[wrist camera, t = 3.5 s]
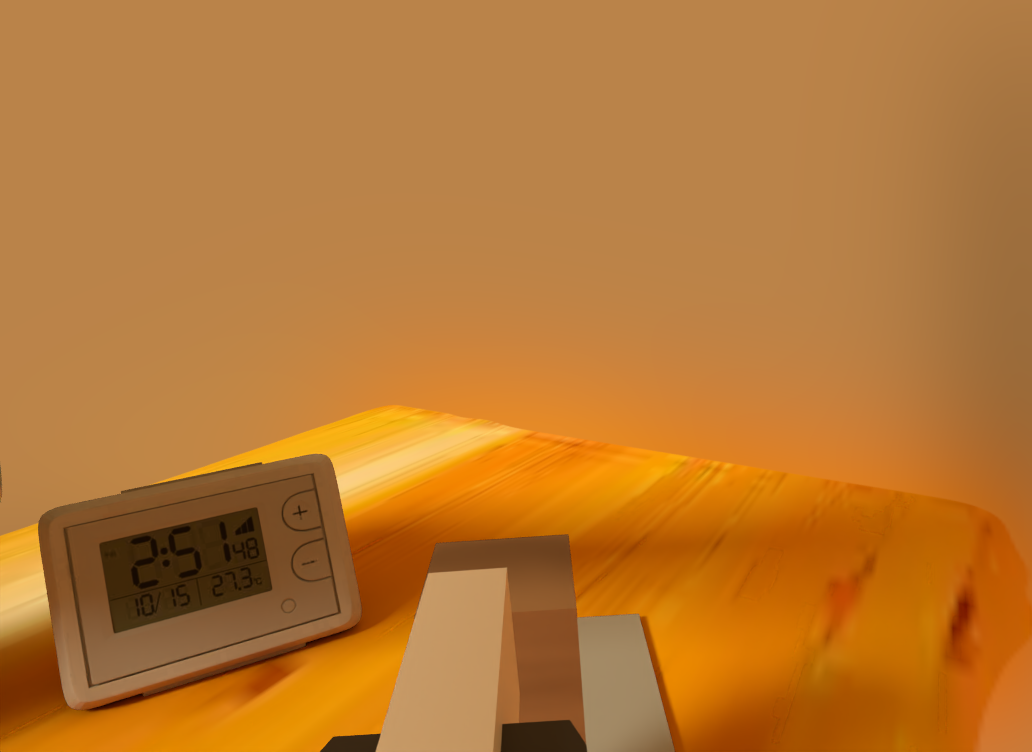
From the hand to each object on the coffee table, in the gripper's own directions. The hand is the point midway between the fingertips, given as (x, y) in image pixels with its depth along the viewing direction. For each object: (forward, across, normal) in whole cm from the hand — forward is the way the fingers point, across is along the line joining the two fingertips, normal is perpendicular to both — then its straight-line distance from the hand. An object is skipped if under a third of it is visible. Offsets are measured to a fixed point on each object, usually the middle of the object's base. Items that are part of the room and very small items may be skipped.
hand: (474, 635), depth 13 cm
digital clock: (+25, -19, -16) cm, 35 cm away
